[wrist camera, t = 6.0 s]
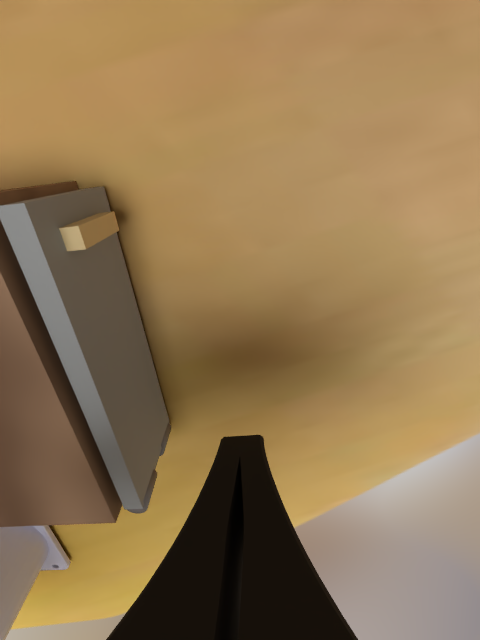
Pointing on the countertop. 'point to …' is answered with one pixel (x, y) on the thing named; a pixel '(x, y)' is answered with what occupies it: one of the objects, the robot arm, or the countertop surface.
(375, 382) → the countertop surface
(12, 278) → the walnut cabinet
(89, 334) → the cabinet door
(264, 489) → the robot arm
